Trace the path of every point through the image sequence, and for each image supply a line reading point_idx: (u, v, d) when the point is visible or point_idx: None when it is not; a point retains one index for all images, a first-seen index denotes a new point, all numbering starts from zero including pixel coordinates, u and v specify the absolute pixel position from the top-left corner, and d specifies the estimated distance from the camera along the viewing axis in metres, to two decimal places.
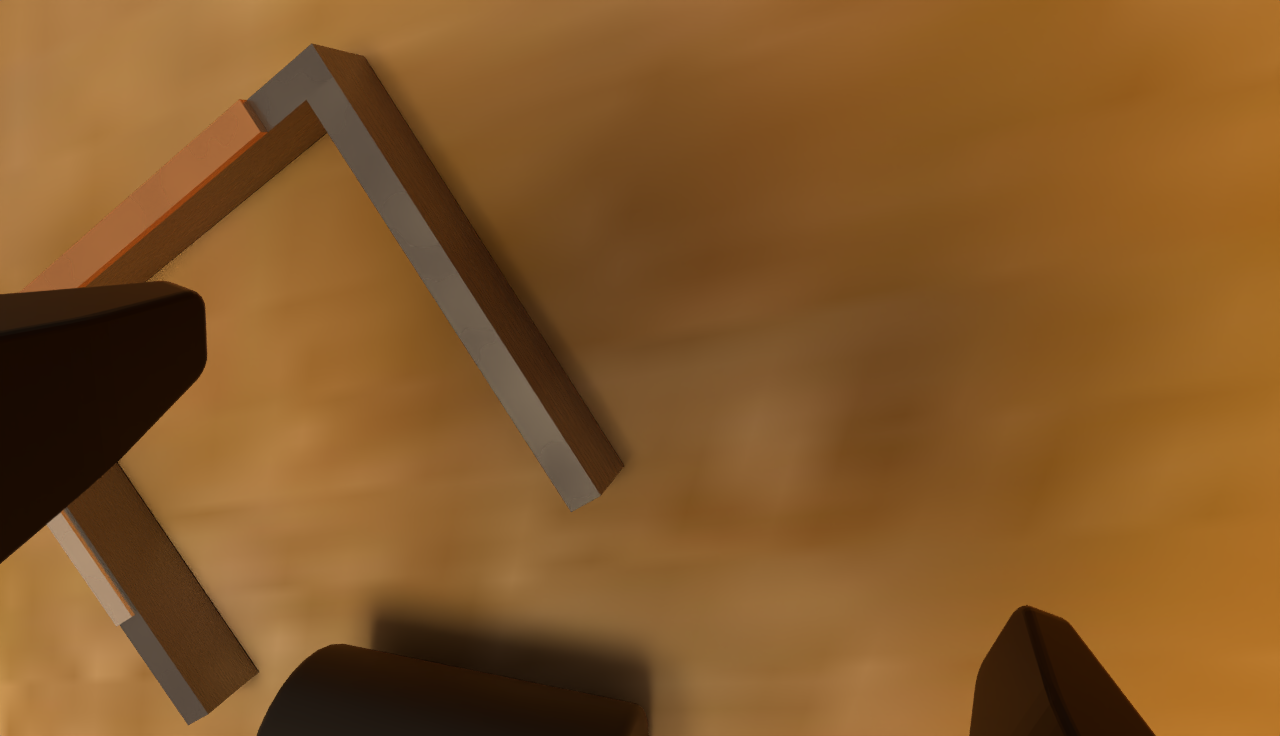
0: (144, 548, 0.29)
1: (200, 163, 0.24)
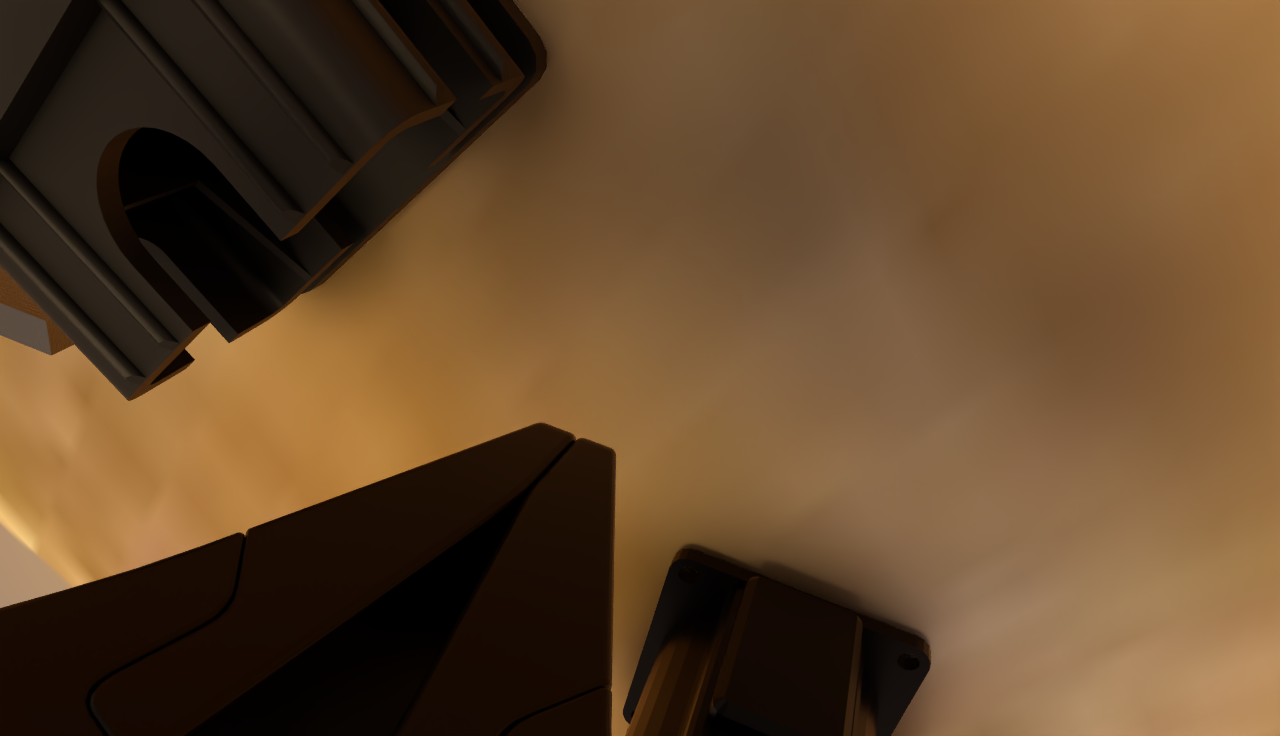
0: None
1: None
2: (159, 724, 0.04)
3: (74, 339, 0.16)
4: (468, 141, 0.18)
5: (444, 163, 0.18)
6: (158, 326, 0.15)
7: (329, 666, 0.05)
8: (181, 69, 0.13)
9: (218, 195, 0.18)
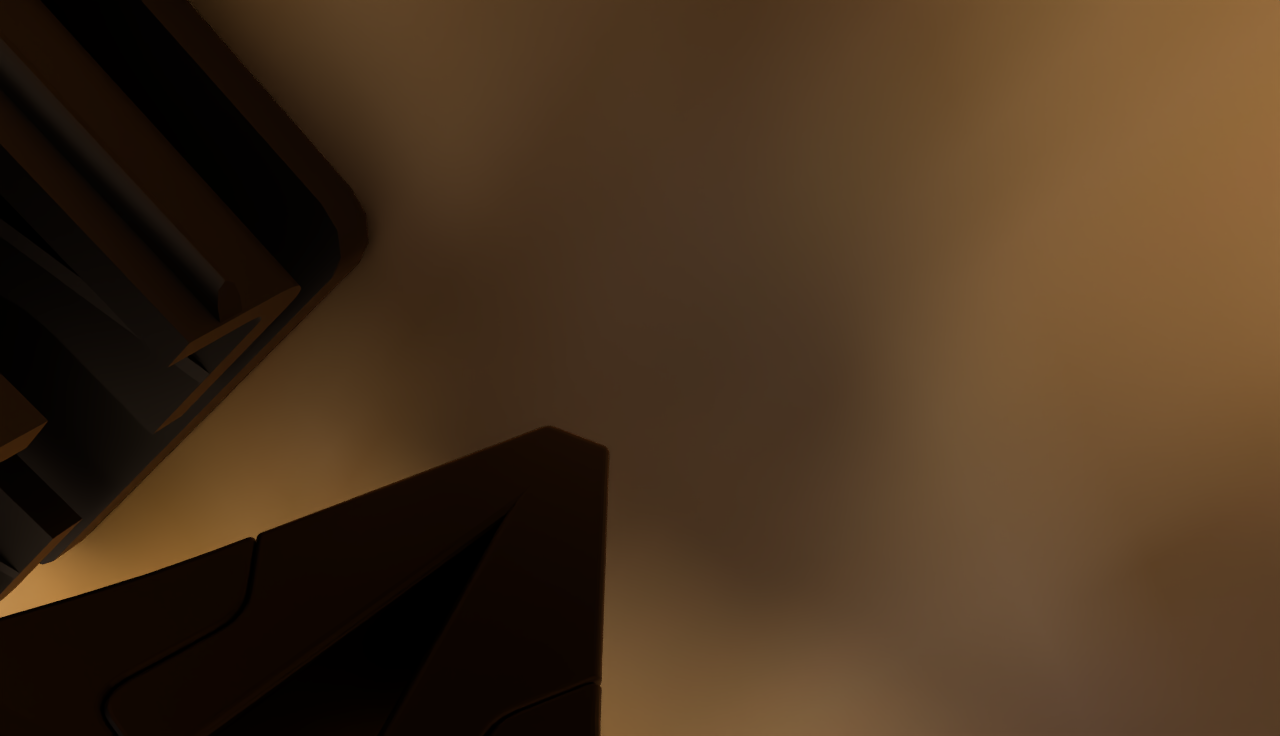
0: None
1: None
2: (173, 732, 0.04)
3: None
4: (248, 363, 0.10)
5: (213, 396, 0.11)
6: None
7: (341, 672, 0.05)
8: None
9: None
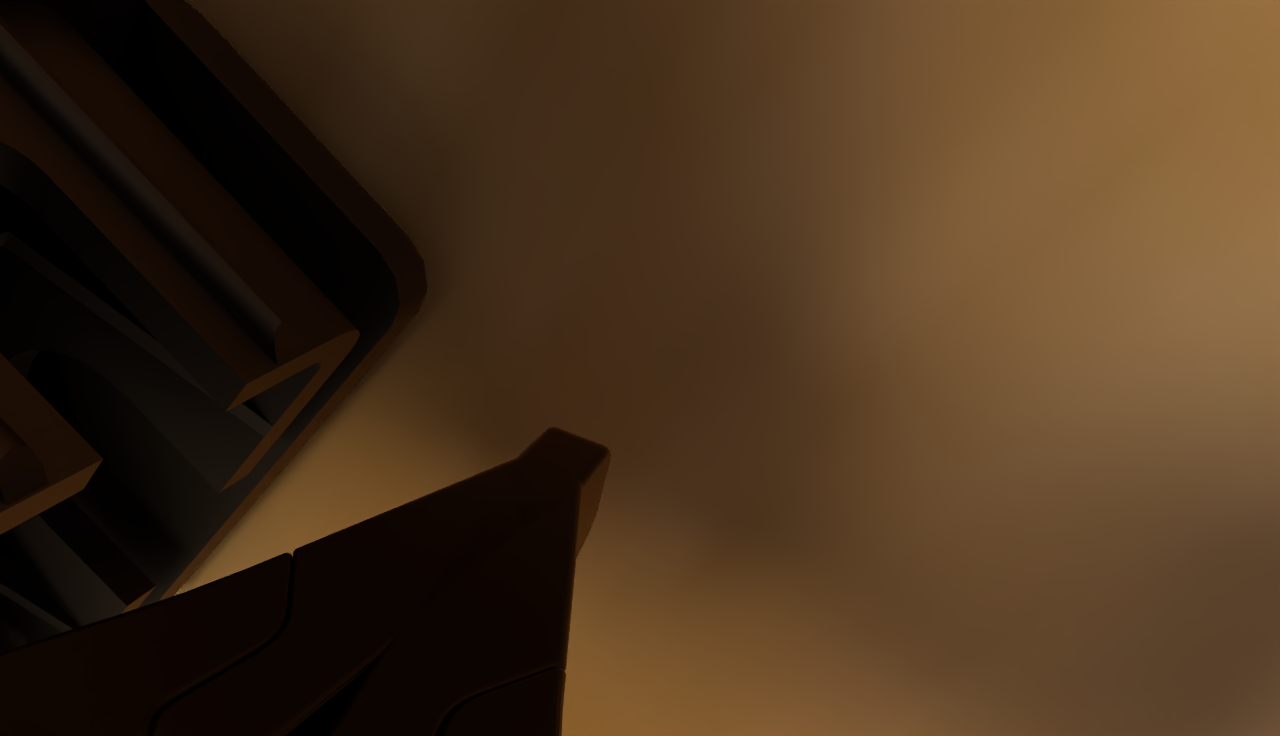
0: None
1: None
2: None
3: None
4: (313, 420, 0.10)
5: (280, 456, 0.11)
6: None
7: None
8: None
9: None
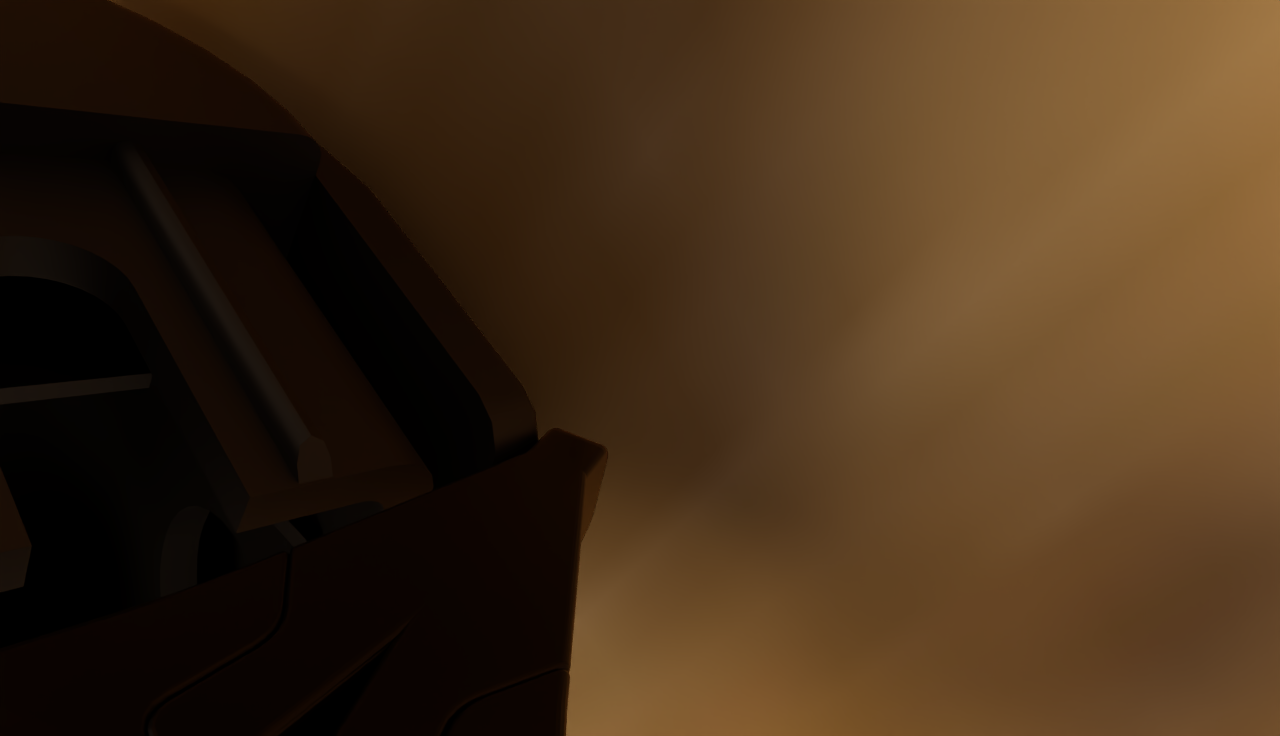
0: None
1: None
2: None
3: None
4: None
5: None
6: None
7: None
8: None
9: None
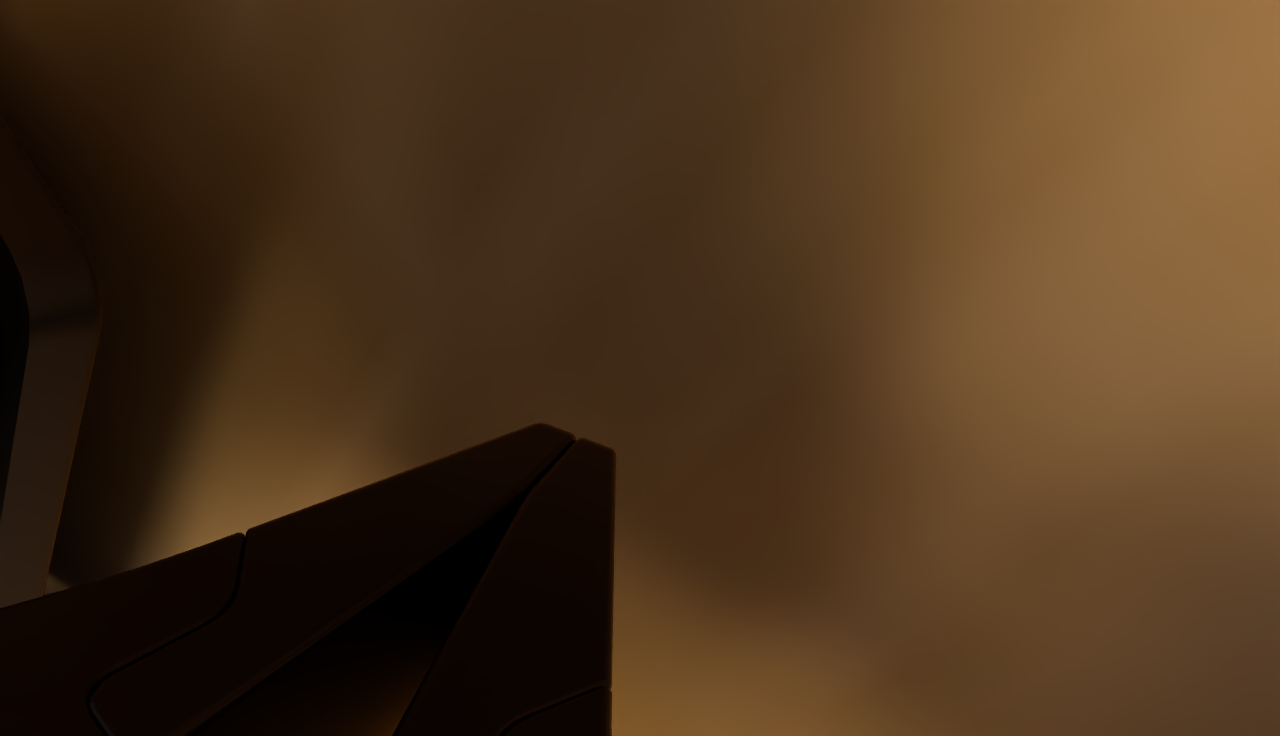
0: None
1: None
2: (160, 725, 0.04)
3: None
4: (15, 479, 0.09)
5: None
6: None
7: (330, 666, 0.05)
8: None
9: None
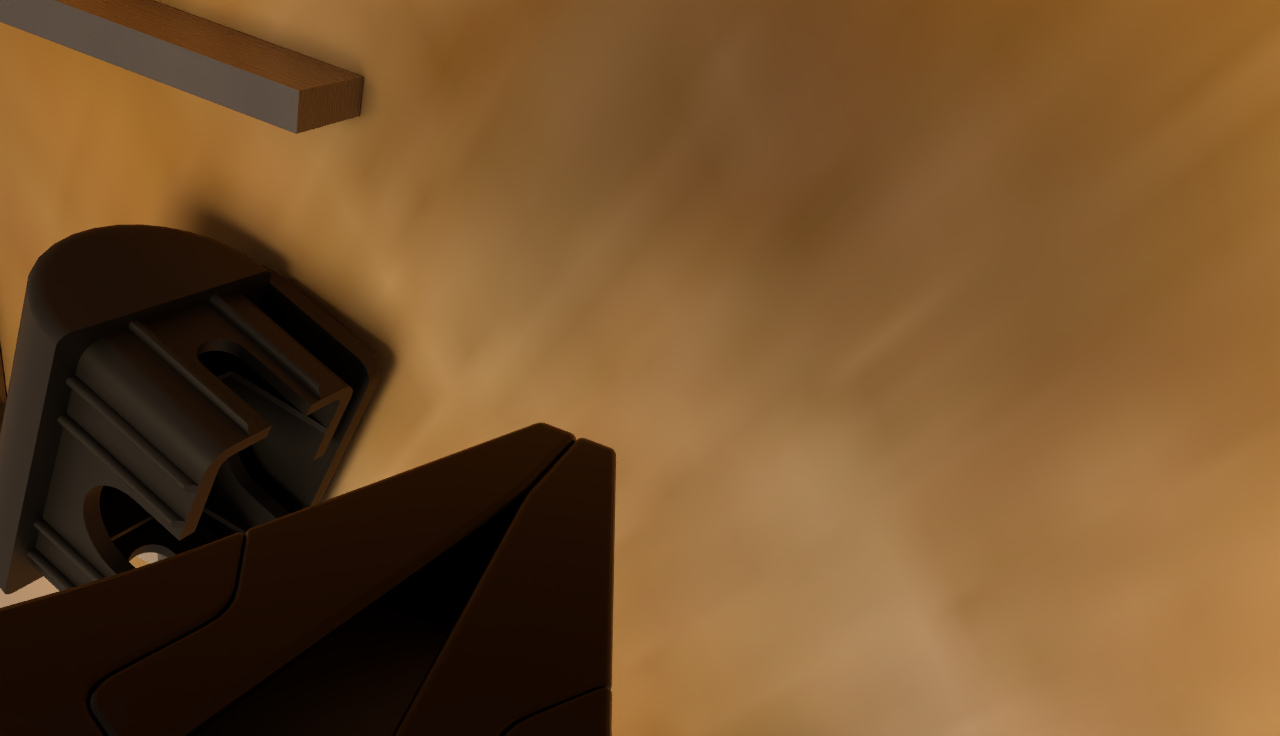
0: None
1: None
2: (159, 724, 0.04)
3: None
4: (347, 431, 0.25)
5: (337, 449, 0.25)
6: None
7: (329, 666, 0.05)
8: (105, 449, 0.21)
9: None
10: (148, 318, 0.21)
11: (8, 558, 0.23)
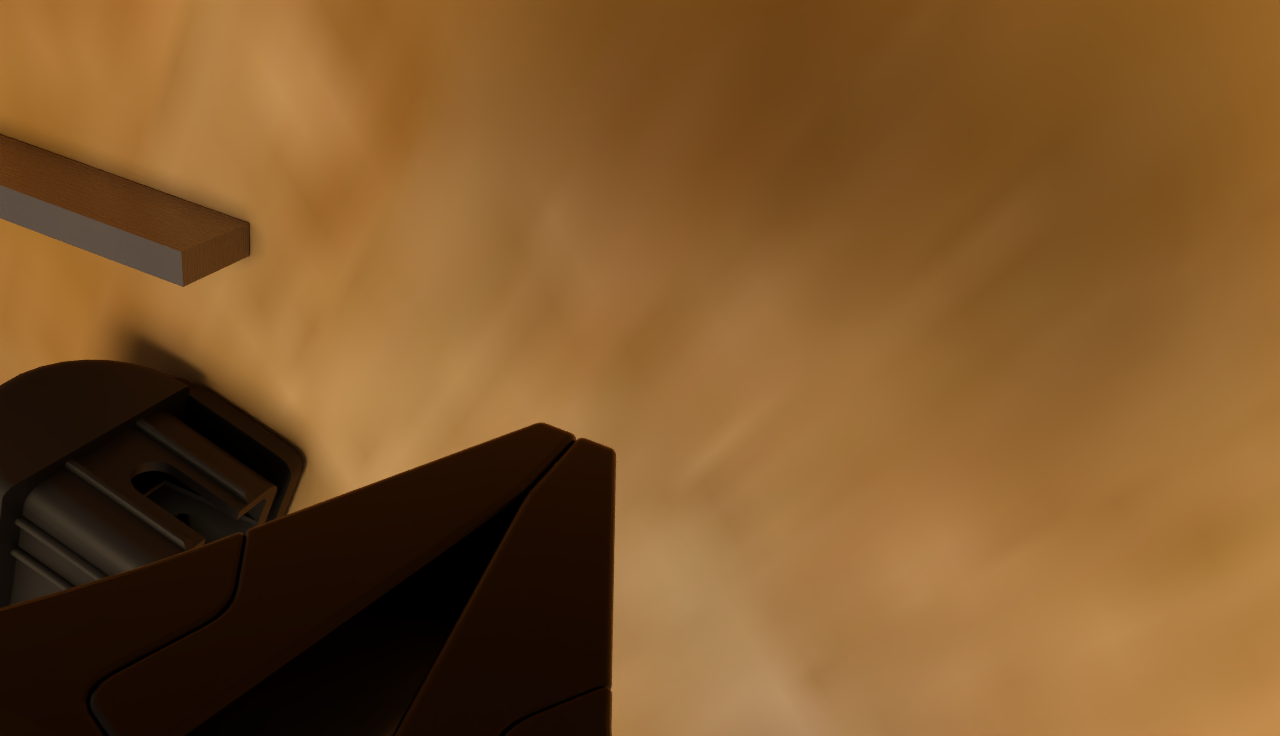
0: None
1: None
2: (159, 724, 0.04)
3: None
4: (277, 516, 0.28)
5: None
6: None
7: (329, 666, 0.05)
8: (58, 574, 0.23)
9: None
10: (82, 455, 0.23)
11: None
